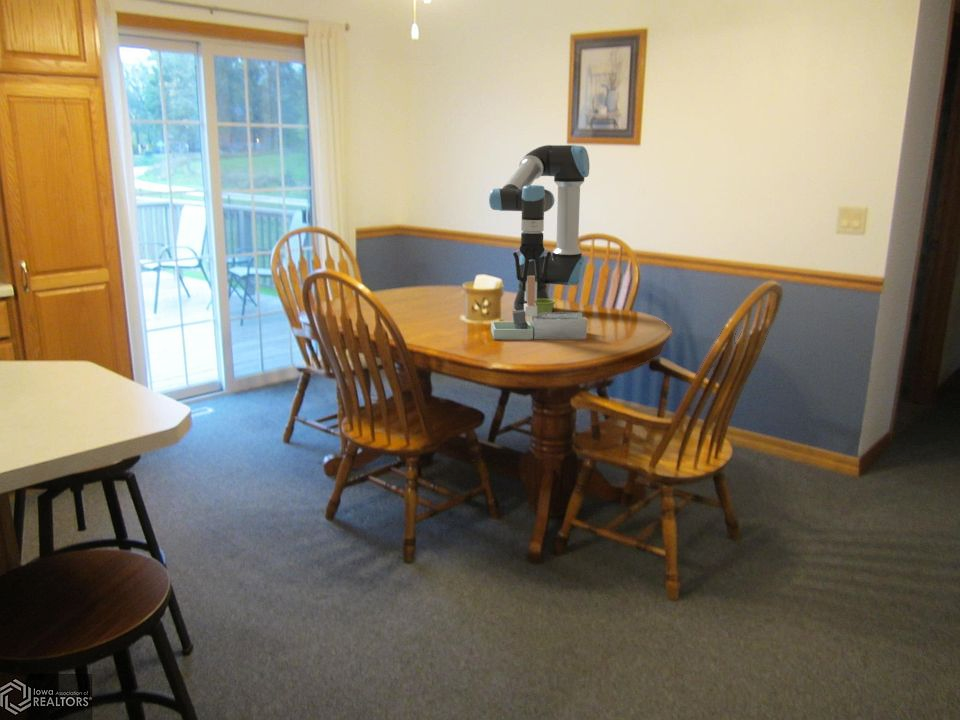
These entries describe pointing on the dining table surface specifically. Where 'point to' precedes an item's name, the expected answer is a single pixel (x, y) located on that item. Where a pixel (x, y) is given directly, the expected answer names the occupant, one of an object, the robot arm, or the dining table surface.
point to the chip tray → (510, 331)
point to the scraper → (530, 298)
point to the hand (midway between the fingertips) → (530, 300)
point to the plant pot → (544, 305)
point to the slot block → (559, 325)
